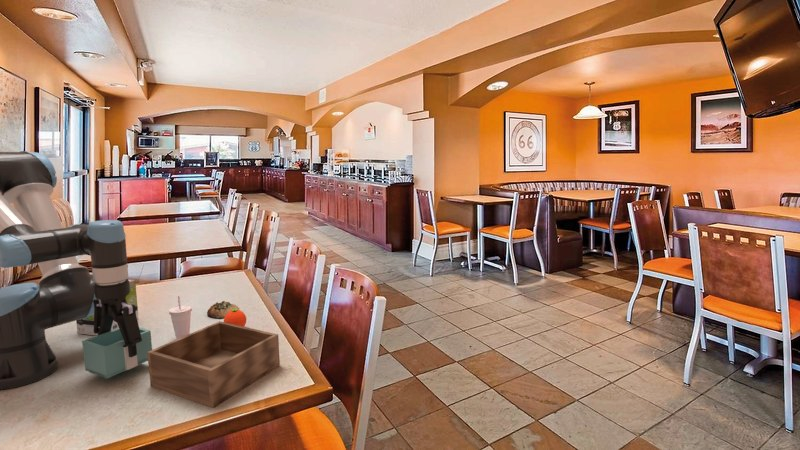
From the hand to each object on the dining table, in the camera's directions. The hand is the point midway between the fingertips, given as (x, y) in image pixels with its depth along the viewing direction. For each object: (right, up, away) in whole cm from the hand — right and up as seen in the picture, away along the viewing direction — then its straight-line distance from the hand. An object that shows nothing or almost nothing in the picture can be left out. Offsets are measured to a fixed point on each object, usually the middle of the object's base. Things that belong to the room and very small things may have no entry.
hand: (120, 363), depth 113 cm
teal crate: (0, 0, 0) cm, 0 cm away
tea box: (-24, +2, +32) cm, 40 cm away
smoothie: (+5, +1, +22) cm, 23 cm away
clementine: (+20, +2, +28) cm, 35 cm away
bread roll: (+9, +4, +44) cm, 45 cm away
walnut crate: (+26, -3, -1) cm, 27 cm away
